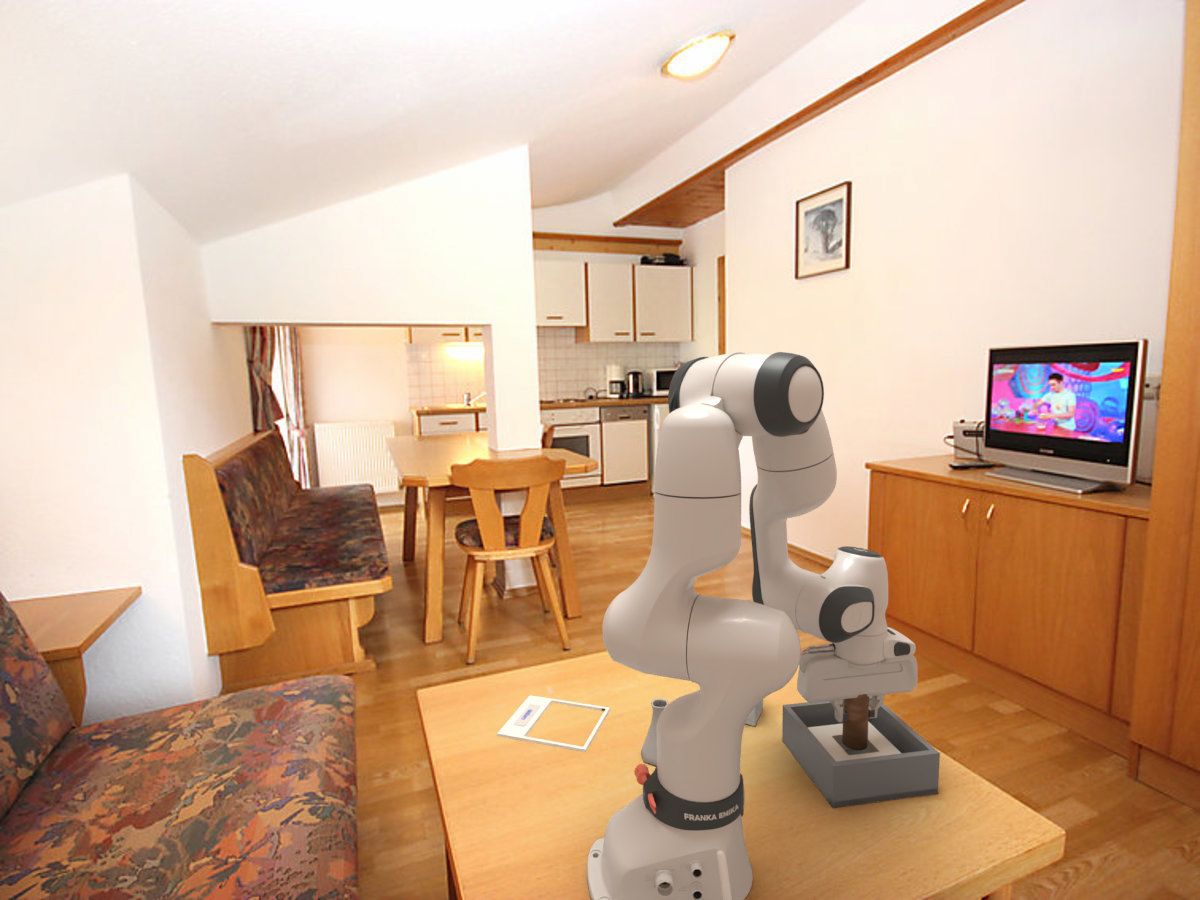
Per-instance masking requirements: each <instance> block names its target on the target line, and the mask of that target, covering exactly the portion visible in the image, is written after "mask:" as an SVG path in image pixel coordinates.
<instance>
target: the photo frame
mask: <svg viewBox="0 0 1200 900" xmlns="http://www.w3.org/2000/svg"><path fill="white" fill-rule="evenodd" d="M551 702H554V703H553V704H557V703H560V704H559V705H563V704H566V705H565V706H570V705H571V706H572V707H576V706H577V708H578V707H579V708H583V709H590V710H597V711H603V710H604V712H603V713H602V715H601V716H600V718H599V720H598V722H597V723H596V724H595V727H594V728H593V730H592V732H591V733H590V735H589V737H588V739H587V740H586V741H585V743H584V745H583V746H580V745H575V744H571V743H569V744H568V743H563V742H558V741H553V740H547V739H542V738H537V737H531V736H527V735H528V734H529V733H530V732H531V730H532V729H533V728H532V727H534V726H535V725H536V724H537V722H538V721H540V718H541V717H542V716H543V715H544V713H545V712H546V711H545V710H547V709H548V708H549V707H550V706H551V704H552V703H551ZM548 706H549V707H548ZM571 706H570V707H571ZM547 707H548V708H547ZM544 711H545V712H544ZM610 711H611V707H608V706H607V707H606V706H601V705H595V704H589V703H584V702H583V703H582V702H577V701H576V702H575V701H570V700H569V701H568V700H562V699H556V698H551V697H550V698H549V697H543V696H538V695H528V697H526V699H525V700H524V701H523V702H522V704H521V705H520V706H519V707H518V708H517V709H516V710H515V712H514V713H513V714H512V715H511V716H510V718H509V719H508V720H507V721H506V723H505V724H504V725H503V726H502V727H501V728H500V730H499V731H497V733H496V736H497V737H500V736H502V737H501V738H505V737H507V739H512V740H517V741H523V742H527V741H529V742H528V743H533V744H534V743H535V744H540V745H543V746H544V745H545V746H549V747H555V748H560V749H561V748H562V749H567V750H572V751H577V752H583V753H584V752H585V753H586V752H587V750H588V749H589V747H590V745H591V743H592V742H593V740H594V739H595V737H596V736H597V734H598V732H599V730H600V728H601V726H602V725H603V723H604V721H605V720H606V718H607V716H608V715H609V712H610ZM542 714H543V715H542ZM541 715H542V716H541Z"/></svg>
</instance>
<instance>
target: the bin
mask: <svg viewBox="0 0 1200 900" xmlns="http://www.w3.org/2000/svg"><path fill="white" fill-rule="evenodd" d="M871 697H872V696H869V701H870V699H871ZM839 706H840V707H843V702H842V704H841V705H840V704H839ZM781 725H782V729H781V730H782V731H781V732H782V735H781V736H782V737H781V740H782V743H783V744H784V745H785V746H786V748H787V749H788V750H789V752H790V754H791V755H792V756H793V757H794V758H795V760H796V761H797V762H798V764H799V765H800V766H801V767H802V770H804V771H805V774H807V776H808V778H810V780H811V781H812V783H814V785H815V786H816V788H817V789H818V790H819V792H820V793H821V795H822V796H823V797H824V798H825V800H826V801H827V802H828V804H829V805H830V807H831V808H832V809H836V808H842V807H851V806H857V805H858V806H859V805H865V804H872V803H879V802H885V801H886V802H888V801H895V800H903V799H910V798H916V797H924V796H932V795H938V794H939V781H940V780H939V778H940V756H941V754H940V753H941V752H939V751H938V750H937V749H936V748H935V747H934V746H932V745H931V744H930V743H929V742H928V741H927V740H925V738H924V737H922V736H921V735H920V734H918V733H917V732H916V730H914V729H913V728H912V727H911V726H910V725H908V724H907V723H906V722H905V721H904V720H903V719H902V718H901V717H900V716H899V715H897V714H896V713H895V712H894V711H893V710H892V709H890V708H889V707H888V706H887V705H885V704H884V703H882V704H881V706H880V707H879V709H878V713H877V718H870V719H868V746H867V748H866V749H864V750H853V749H850V748H848V747H846V746H845V745H844V744H843V742H842V735H843V722H838V721H837V720H836V719H835V708H834V707H833V705H832V704H831V702H830V701H824V702H816V703H809V702H807V701H806V702H798V703H797V702H796V703H788V704H782V724H781Z"/></svg>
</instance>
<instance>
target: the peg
mask: <svg viewBox="0 0 1200 900" xmlns="http://www.w3.org/2000/svg"><path fill="white" fill-rule="evenodd" d="M843 708H844V709H845V710H846V711H847V712H848V717H847V718H848V721H846V722H843V735H842V742H843V744H844V745H845V746H846V747H848V748H850V749H853V750H864V749H866V748H867V746H868V715H869V696H867V694H862V695H858V697H857V698H850V699H843Z"/></svg>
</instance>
